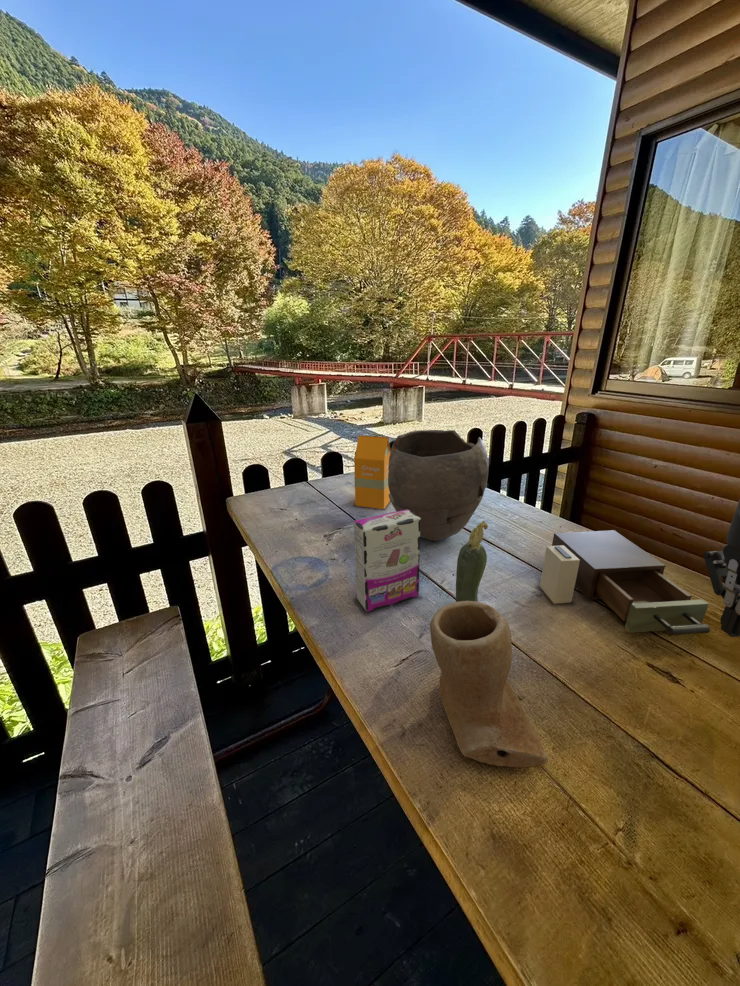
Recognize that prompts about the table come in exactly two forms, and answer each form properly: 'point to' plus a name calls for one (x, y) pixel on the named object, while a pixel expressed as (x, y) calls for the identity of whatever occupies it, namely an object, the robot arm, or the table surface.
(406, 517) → the candy bar box
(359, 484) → the orange juice
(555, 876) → the table surface
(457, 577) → the vegetable
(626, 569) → the cabinet
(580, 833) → the table surface
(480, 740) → the clay boot vessel
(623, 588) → the drawer
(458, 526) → the clay pot
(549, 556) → the slotted beige box
